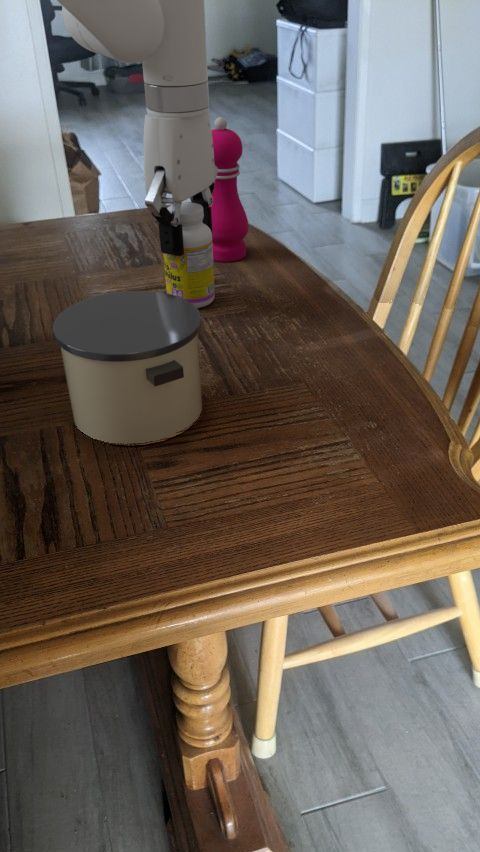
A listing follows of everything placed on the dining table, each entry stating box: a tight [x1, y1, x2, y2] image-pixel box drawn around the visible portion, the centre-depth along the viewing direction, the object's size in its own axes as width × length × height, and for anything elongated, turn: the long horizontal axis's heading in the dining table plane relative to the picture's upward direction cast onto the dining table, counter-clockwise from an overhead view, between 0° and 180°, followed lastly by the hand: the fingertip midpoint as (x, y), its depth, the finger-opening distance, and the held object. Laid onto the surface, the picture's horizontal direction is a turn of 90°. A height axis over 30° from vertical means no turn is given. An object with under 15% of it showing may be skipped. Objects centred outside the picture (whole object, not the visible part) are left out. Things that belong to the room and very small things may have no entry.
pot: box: [52, 290, 203, 444], centre depth 82 cm, size 15×17×11 cm
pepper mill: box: [209, 116, 249, 263], centre depth 116 cm, size 7×7×20 cm
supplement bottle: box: [162, 201, 216, 309], centre depth 105 cm, size 7×7×13 cm
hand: (187, 243), depth 104 cm, fingers closed on supplement bottle, 6 cm apart
